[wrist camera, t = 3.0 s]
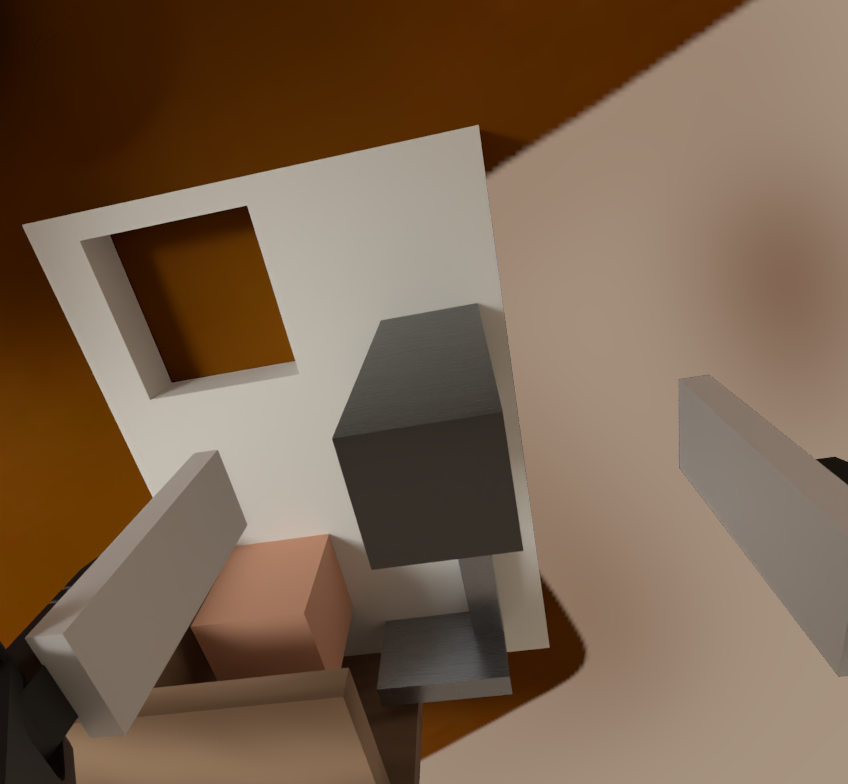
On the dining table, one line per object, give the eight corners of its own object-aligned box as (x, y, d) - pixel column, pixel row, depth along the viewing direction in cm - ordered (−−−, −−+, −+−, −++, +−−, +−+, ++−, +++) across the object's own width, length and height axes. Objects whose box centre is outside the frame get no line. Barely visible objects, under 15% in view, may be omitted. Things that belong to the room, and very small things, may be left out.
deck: (56, 219, 22) (21, 225, 20) (475, 128, 20) (478, 124, 18) (252, 650, 32) (240, 680, 30) (543, 618, 30) (549, 647, 28)
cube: (234, 546, 26) (190, 626, 22) (329, 533, 26) (304, 613, 21) (265, 618, 28) (230, 706, 24) (353, 607, 28) (335, 695, 23)
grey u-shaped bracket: (299, 335, 22) (192, 460, 12) (477, 302, 21) (502, 412, 12) (390, 636, 28) (364, 860, 19) (526, 621, 28) (567, 848, 18)
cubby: (177, 529, 26) (32, 727, 17) (380, 500, 25) (343, 696, 16) (248, 679, 30) (163, 902, 21) (424, 660, 29) (414, 888, 20)
